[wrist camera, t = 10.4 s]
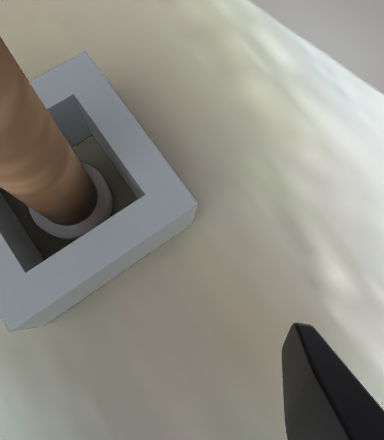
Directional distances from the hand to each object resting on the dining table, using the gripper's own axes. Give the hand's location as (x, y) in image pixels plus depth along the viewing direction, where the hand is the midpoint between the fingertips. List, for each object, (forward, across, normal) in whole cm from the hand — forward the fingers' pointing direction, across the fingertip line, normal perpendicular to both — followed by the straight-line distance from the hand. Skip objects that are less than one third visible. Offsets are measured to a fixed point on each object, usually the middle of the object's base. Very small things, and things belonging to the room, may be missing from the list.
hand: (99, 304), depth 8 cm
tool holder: (+12, +5, +5) cm, 14 cm away
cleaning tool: (+12, +5, +5) cm, 14 cm away
